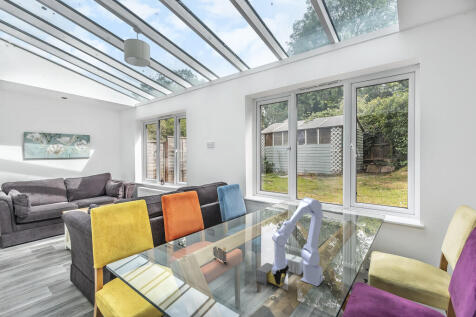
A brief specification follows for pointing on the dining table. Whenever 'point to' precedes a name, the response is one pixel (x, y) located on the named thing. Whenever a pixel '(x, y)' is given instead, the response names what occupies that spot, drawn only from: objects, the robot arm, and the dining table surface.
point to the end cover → (272, 279)
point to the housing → (264, 273)
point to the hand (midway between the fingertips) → (280, 282)
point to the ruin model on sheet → (219, 253)
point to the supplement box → (294, 264)
